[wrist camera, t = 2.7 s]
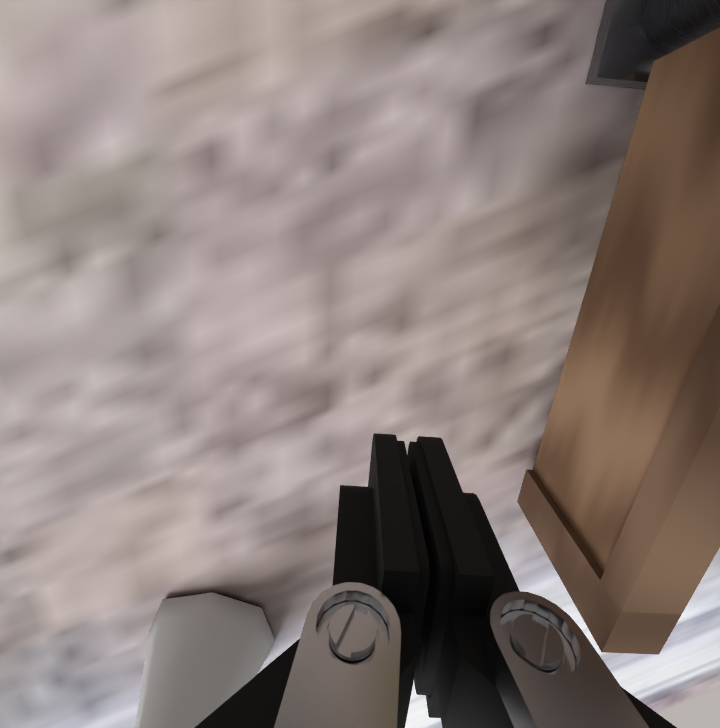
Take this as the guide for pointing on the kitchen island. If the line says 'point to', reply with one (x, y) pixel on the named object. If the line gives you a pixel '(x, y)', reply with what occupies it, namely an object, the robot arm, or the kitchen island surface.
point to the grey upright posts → (646, 37)
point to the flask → (199, 658)
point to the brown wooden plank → (644, 378)
